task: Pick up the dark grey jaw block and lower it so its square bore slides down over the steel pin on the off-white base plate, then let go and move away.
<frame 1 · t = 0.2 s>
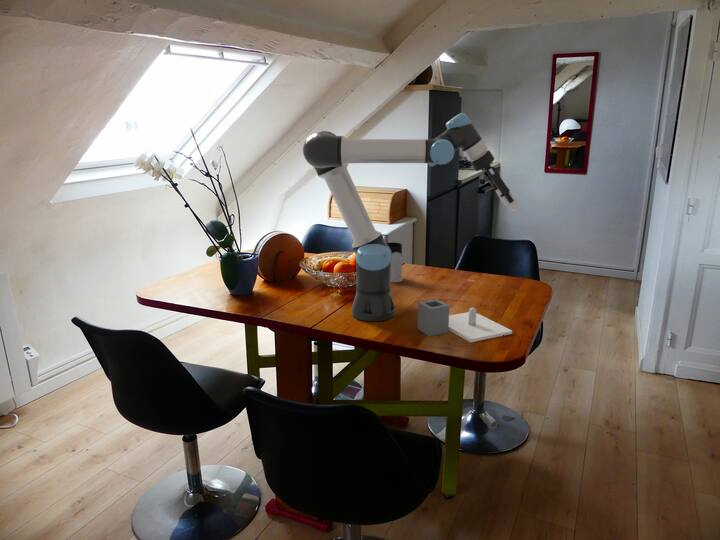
hand: (512, 206, 190), 36 cm above the table, tool tilted 35°, fingers open, 13 cm apart
base plate: (471, 327, 177), on the table
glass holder: (390, 277, 233), on the table
jaw block: (432, 330, 175), on the table
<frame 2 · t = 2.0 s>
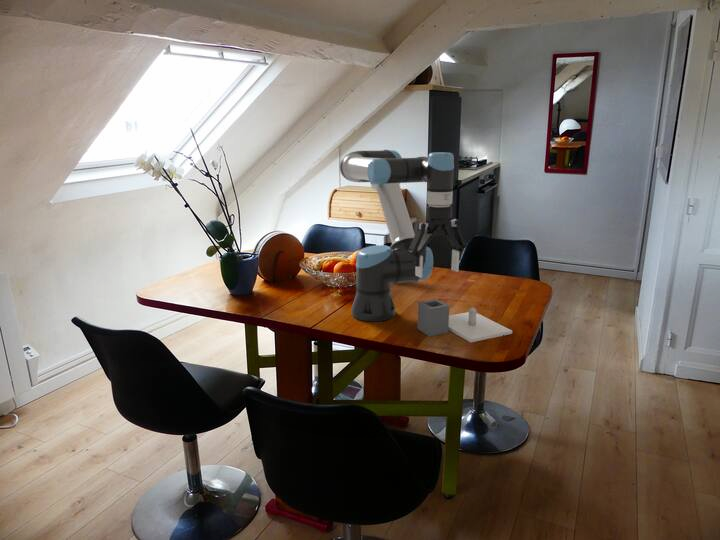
hand: (437, 273, 170), 19 cm above the table, tool pointing down, fingers open, 13 cm apart
nothing on the table moved.
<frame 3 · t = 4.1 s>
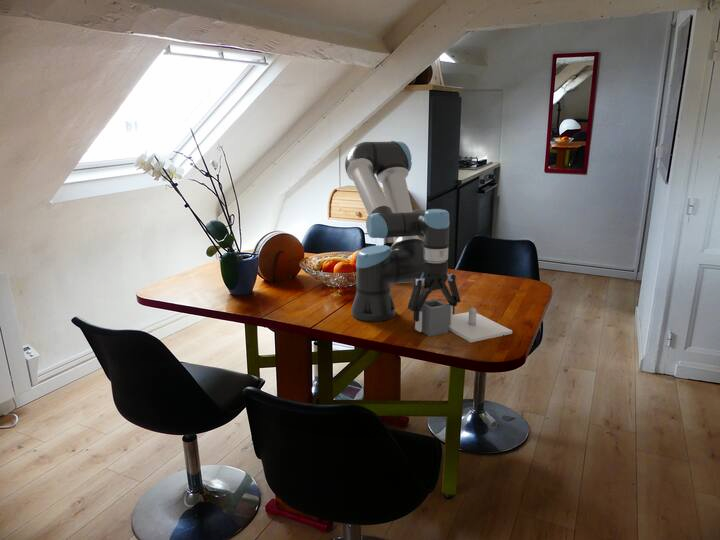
hand: (433, 327, 174), 1 cm above the table, tool pointing down, fingers open, 11 cm apart
nothing on the table moved.
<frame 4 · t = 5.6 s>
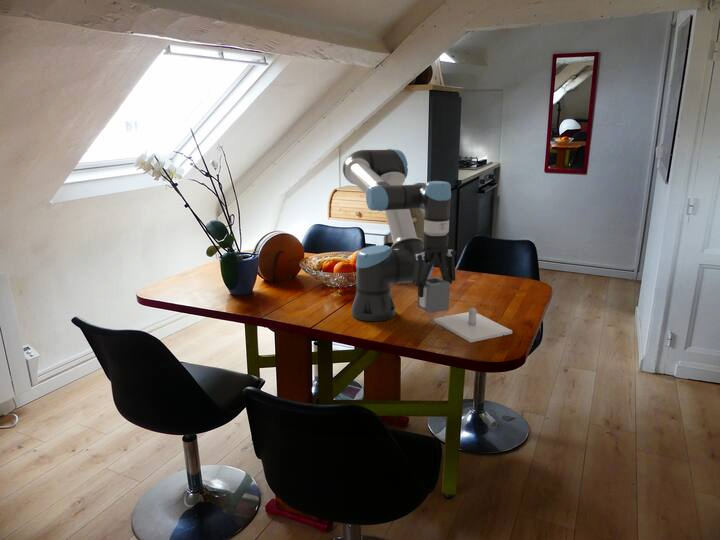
hand: (433, 304, 173), 9 cm above the table, tool pointing down, fingers closed on jaw block, 7 cm apart
jaw block: (432, 308, 173), point 7 cm above the table, touching gripper
everything else where it was.
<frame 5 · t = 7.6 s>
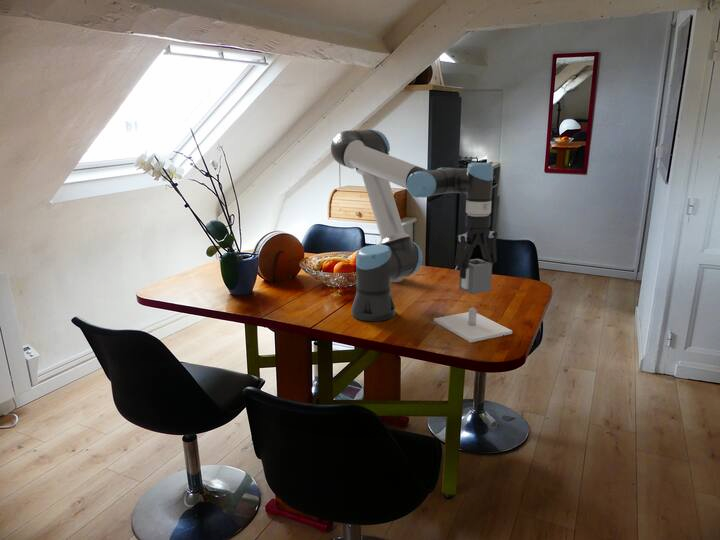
hand: (474, 286, 174), 14 cm above the table, tool pointing down, fingers closed on jaw block, 7 cm apart
jaw block: (474, 289, 174), point 13 cm above the table, touching gripper
everything else where it was.
when the fingers open (2 cm above the table, at t = 10.2 s): jaw block stays where it is, resting on base plate.
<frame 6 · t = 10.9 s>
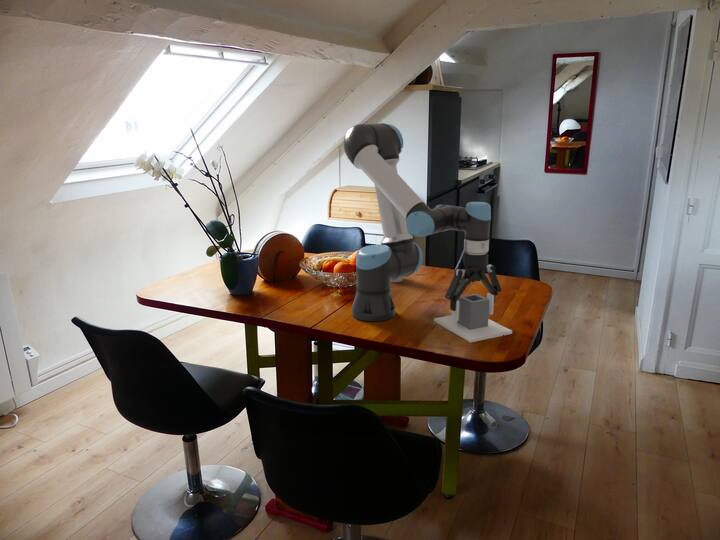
hand: (472, 316, 176), 4 cm above the table, tool pointing down, fingers open, 13 cm apart
jaw block: (472, 324, 177), point 1 cm above the table, touching base plate
everything else where it was.
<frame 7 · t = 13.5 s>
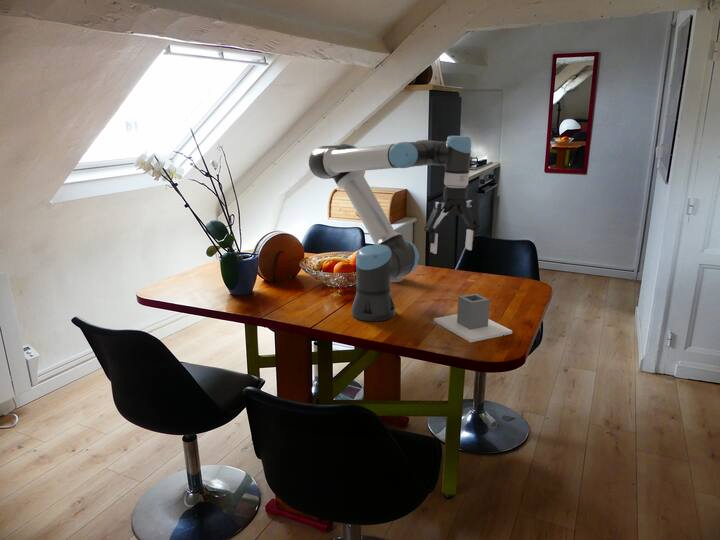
hand: (451, 251, 180), 23 cm above the table, tool pointing down, fingers open, 13 cm apart
nothing on the table moved.
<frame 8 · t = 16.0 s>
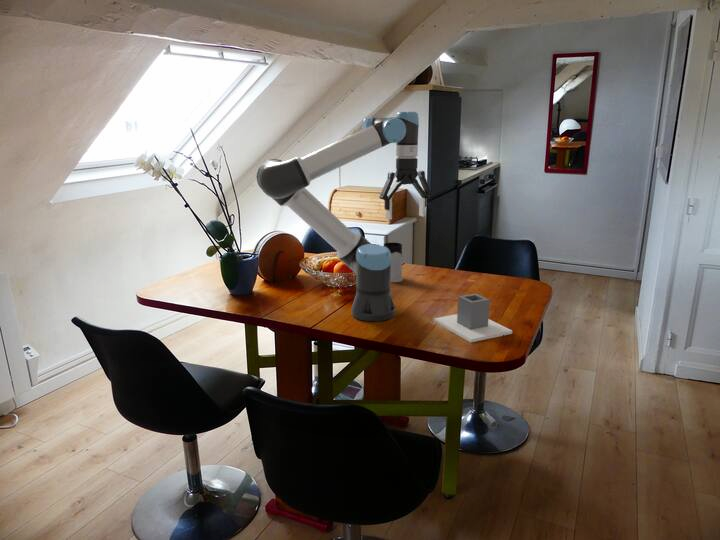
hand: (405, 217, 198), 31 cm above the table, tool pointing down, fingers open, 13 cm apart
nothing on the table moved.
at the end: jaw block 0.1 cm off-centre on the base plate, point 1.0 cm above the base plate's base; jaw block tilted 0°; the gripper is holding nothing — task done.
